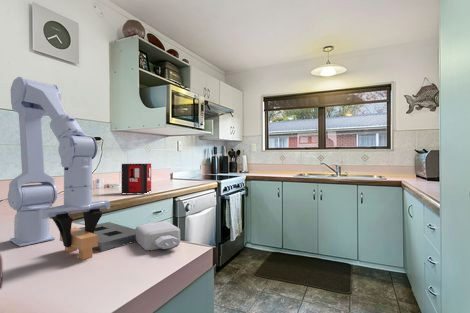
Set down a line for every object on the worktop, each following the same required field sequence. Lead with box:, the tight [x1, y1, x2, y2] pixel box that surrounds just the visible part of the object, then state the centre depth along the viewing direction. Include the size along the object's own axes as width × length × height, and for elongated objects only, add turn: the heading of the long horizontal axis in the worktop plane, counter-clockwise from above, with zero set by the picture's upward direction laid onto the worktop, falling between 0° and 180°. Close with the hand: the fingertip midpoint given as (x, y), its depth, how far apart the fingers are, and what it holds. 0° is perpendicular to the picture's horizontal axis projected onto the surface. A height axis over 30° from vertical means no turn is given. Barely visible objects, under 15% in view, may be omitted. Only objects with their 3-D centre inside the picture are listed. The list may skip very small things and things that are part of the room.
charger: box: [135, 220, 181, 252], centre depth 66 cm, size 5×9×15 cm
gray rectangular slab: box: [78, 221, 136, 252], centre depth 73 cm, size 20×12×2 cm, turn 53°
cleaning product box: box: [121, 163, 152, 194], centre depth 173 cm, size 16×9×20 cm, turn 90°
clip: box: [59, 226, 98, 261], centre depth 61 cm, size 12×4×5 cm, turn 53°
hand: (78, 243), depth 61 cm, fingers open, 4 cm apart
